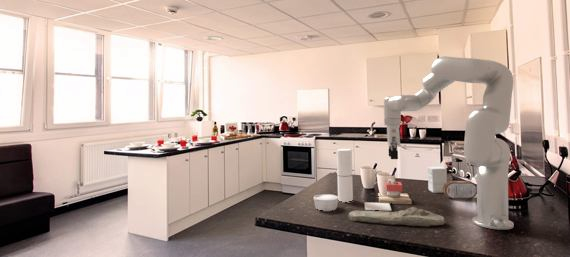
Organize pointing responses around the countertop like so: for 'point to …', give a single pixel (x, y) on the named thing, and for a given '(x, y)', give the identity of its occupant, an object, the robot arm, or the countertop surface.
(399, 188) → the red white square box
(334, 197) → the ramekin
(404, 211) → the elongated rock
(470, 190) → the tin
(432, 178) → the supplement box
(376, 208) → the pad
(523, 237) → the countertop surface
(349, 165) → the cylindrical container
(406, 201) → the stand
